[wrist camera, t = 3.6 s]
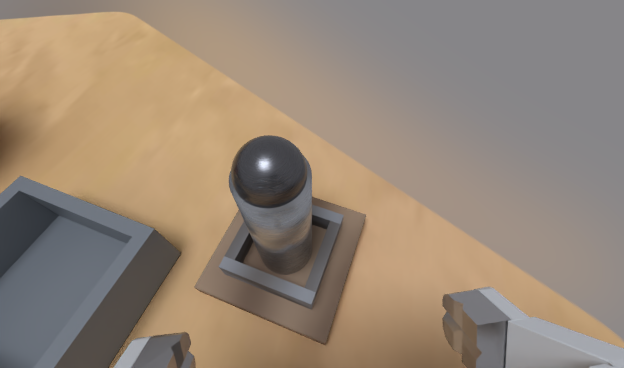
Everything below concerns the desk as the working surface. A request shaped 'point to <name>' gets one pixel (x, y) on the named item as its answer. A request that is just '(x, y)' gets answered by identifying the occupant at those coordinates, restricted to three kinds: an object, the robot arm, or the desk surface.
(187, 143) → the desk surface
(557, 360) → the robot arm
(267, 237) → the strut
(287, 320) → the socket plate
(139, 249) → the bin
